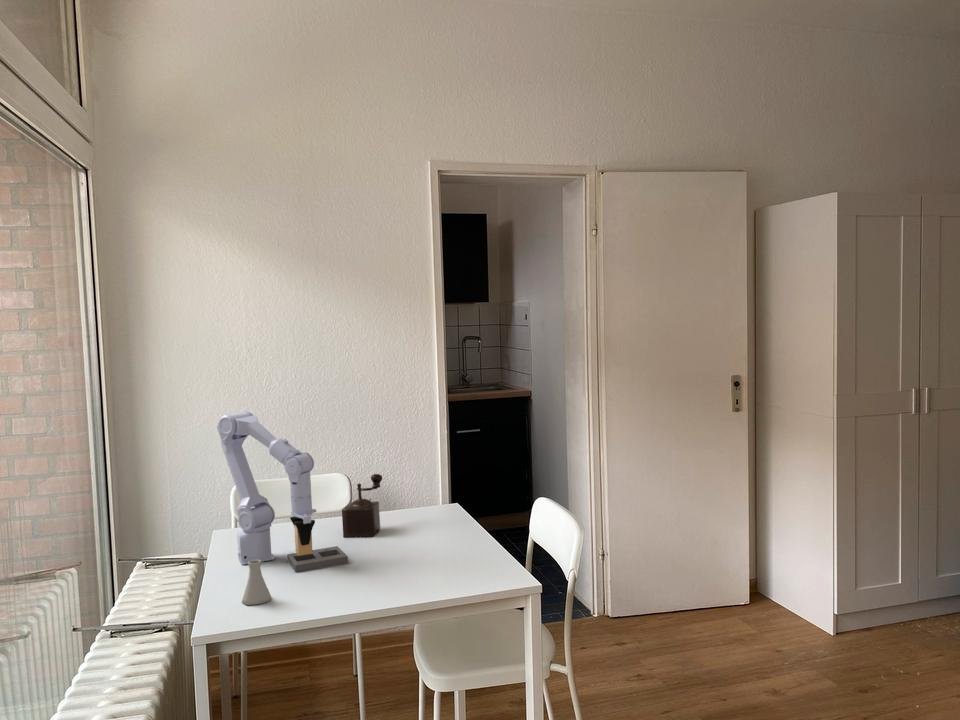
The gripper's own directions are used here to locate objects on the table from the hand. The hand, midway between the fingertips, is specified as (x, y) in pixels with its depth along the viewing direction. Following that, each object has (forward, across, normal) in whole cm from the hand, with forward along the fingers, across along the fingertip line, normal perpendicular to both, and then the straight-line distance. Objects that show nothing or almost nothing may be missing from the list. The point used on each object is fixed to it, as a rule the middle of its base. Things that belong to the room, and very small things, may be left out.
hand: (303, 542), depth 217 cm
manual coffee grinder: (+6, +25, -25) cm, 36 cm away
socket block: (+6, 0, -4) cm, 7 cm away
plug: (+3, 0, 0) cm, 3 cm away
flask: (+6, -23, +17) cm, 29 cm away
